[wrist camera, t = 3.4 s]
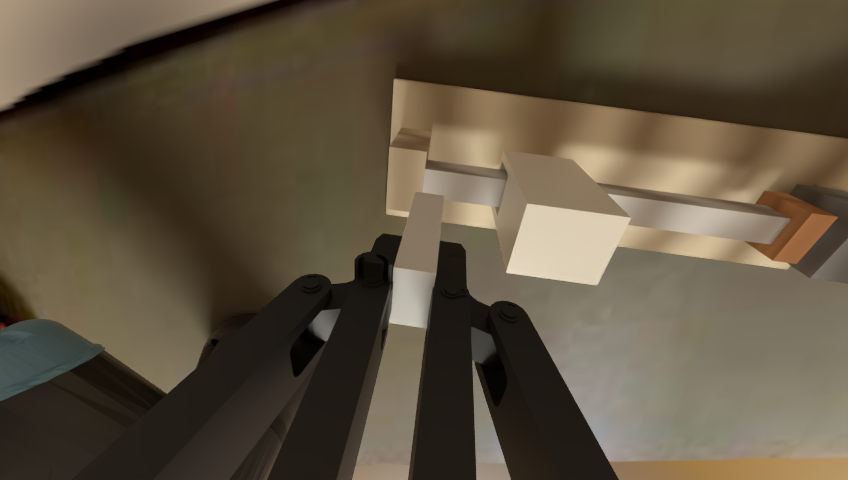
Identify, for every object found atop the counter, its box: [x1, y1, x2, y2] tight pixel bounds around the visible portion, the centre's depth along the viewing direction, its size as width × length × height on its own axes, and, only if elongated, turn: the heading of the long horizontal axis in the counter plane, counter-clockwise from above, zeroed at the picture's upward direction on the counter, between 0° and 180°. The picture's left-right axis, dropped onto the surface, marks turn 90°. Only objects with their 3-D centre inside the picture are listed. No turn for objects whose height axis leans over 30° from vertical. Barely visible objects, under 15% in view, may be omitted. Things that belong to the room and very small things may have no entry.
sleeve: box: [491, 150, 631, 285], centre depth 20 cm, size 5×4×9 cm
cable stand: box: [386, 78, 848, 283], centre depth 24 cm, size 36×11×7 cm, turn 84°
